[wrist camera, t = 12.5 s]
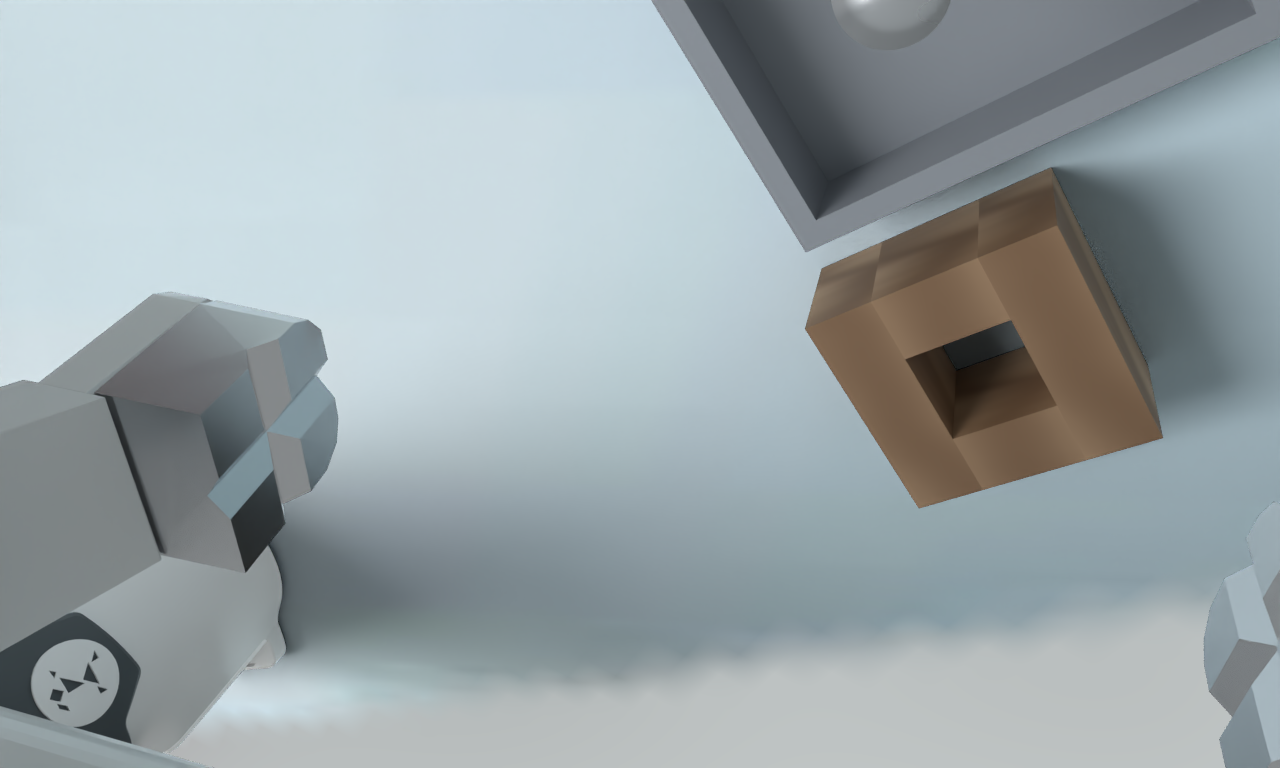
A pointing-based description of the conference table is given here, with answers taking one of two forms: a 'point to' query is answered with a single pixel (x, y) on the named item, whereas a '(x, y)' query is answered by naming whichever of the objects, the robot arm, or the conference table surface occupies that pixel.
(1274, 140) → the conference table surface
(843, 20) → the pin
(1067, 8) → the gray tray
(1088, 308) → the block
